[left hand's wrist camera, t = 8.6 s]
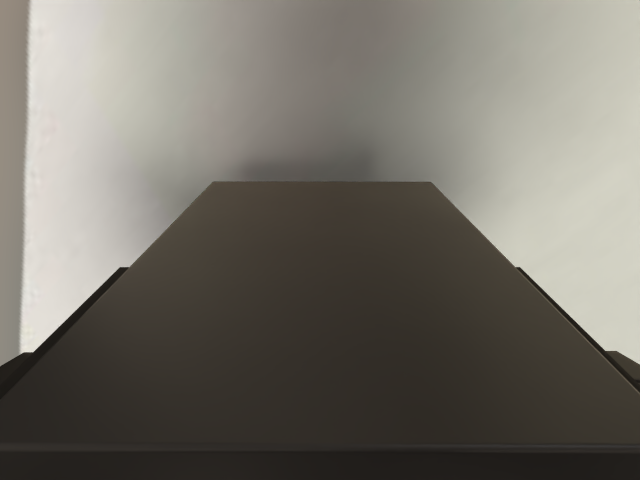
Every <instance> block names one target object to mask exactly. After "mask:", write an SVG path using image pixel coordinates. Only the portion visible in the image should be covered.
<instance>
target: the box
mask: <svg viewBox="0 0 640 480" xmlns="http://www.w3.org/2000/svg"><path fill="white" fill-rule="evenodd" d="M0 480H640V393H639V392H638V391H637V390H636V389H635V388H634V387H633V386H632V385H631V384H630V383H629V382H628V381H627V380H626V379H625V378H624V377H623V376H622V375H621V374H620V373H619V371H618V370H617V369H616V368H615V367H614V366H613V365H612V364H611V363H610V362H609V361H608V360H607V359H606V358H605V357H604V356H603V355H602V354H601V353H600V352H599V351H598V350H597V349H596V348H595V347H594V346H593V345H592V344H591V343H590V342H589V341H588V340H587V339H586V338H585V337H584V336H583V335H582V334H581V333H580V332H579V331H578V330H577V329H576V328H575V327H574V326H573V325H572V324H571V323H570V322H569V321H568V320H567V319H566V318H565V317H564V316H563V315H562V314H561V313H560V312H559V311H558V310H557V309H556V308H555V307H554V306H553V305H552V304H551V303H550V302H549V301H548V300H547V299H546V298H545V297H544V296H543V295H542V294H541V293H540V292H539V291H538V290H537V289H536V288H535V287H534V286H533V285H532V284H531V283H530V282H529V281H528V280H527V279H526V278H525V277H524V276H523V275H522V273H521V272H520V271H519V270H518V269H517V268H516V267H515V266H514V265H513V264H512V263H511V262H510V261H509V260H508V259H507V258H506V257H505V256H504V255H503V254H502V253H501V252H500V251H499V250H498V249H497V248H496V247H495V246H494V245H493V244H492V243H491V242H490V241H489V240H488V239H487V238H486V237H485V236H484V235H483V234H482V233H481V232H480V231H479V230H478V229H477V228H476V227H475V226H474V225H473V224H472V223H471V222H470V221H469V220H468V219H467V218H466V217H465V216H464V215H463V214H462V213H461V212H460V211H459V210H458V209H457V208H456V207H455V206H454V205H453V204H452V203H451V202H450V201H449V200H448V199H447V198H446V197H445V196H444V195H443V194H442V193H441V192H440V191H439V190H438V189H437V188H436V187H435V186H434V185H433V184H432V183H431V182H212V183H211V184H210V186H209V187H208V188H207V189H206V190H205V191H204V192H203V193H202V194H201V195H200V196H199V197H198V198H197V199H196V200H195V201H194V202H193V203H192V204H191V205H190V206H189V207H188V208H187V209H186V210H185V211H184V212H183V213H182V214H181V215H180V216H179V217H178V218H177V219H176V220H175V221H174V222H173V223H172V224H171V225H170V226H169V227H168V229H167V230H166V231H165V232H164V233H163V234H162V235H161V236H160V237H159V238H158V239H157V240H156V241H155V242H154V243H153V244H152V245H151V246H150V247H149V248H148V249H147V250H146V251H145V252H144V253H143V254H142V255H141V256H140V257H139V258H138V259H137V260H136V261H135V262H134V263H133V264H132V265H131V266H130V267H129V268H128V269H127V270H126V272H125V273H124V274H123V275H122V276H121V277H120V278H119V279H118V280H117V281H116V282H115V283H114V284H113V285H112V286H111V287H110V288H109V289H108V290H107V291H106V292H105V293H104V294H103V295H102V296H101V297H100V298H99V299H98V300H97V301H96V302H95V303H94V304H93V305H92V306H91V307H90V308H89V309H88V310H87V311H86V312H85V313H84V314H83V316H82V317H81V318H80V319H79V320H78V321H77V322H76V323H75V324H74V325H73V326H72V327H71V328H70V329H69V330H68V331H67V332H66V333H65V334H64V335H63V336H62V337H61V338H60V339H59V340H58V341H57V342H56V343H55V344H54V345H53V346H52V347H51V348H50V349H49V350H48V351H47V352H46V353H45V354H44V355H43V356H42V357H41V359H40V360H39V361H38V362H37V363H36V364H35V365H34V366H33V367H32V368H31V369H30V370H29V371H28V372H27V373H26V374H25V375H24V376H23V377H22V378H21V379H20V380H19V381H18V382H17V383H16V384H15V385H14V386H13V387H12V388H11V389H10V390H9V391H8V392H7V393H6V394H5V395H4V396H3V397H2V398H1V399H0Z"/></svg>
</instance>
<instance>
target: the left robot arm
mask: <svg viewBox="0 0 640 480" xmlns="http://www.w3.org/2000/svg"><path fill="white" fill-rule="evenodd" d="M128 268H129V267H120V268H119V269H118V270H117V271H116V272H115V273H114V274H113V275H112V276H111V277H110V278H109V279H108V280H107V281H106V282H105V283H104V284H103V285H102V286H100V287H99V288H98V289H97V290H96V291H95V292H94V293H93V294H92V295H91V296H90V297H89V298H88V299H87V300H86V301H85V302H84V303H83V304H82V305H81V306H80V307H79V308H78V309H77V310H76V311H75V312H74V313H73V314H72V315H71V316H70V317H69V318H68V319H67V320H66V321H65V322H64V323H63V324H62V325H61V326H60V327H59V328H58V329H57V330H56V331H55V332H54V333H53V334H52V335H51V336H49V337H48V338H47V339H46V340H45V341H44V342H43V343H42V344H41V345H40V346H39V347H38V348H37V349H36V350H35V351H34V352H24V353H22V354H21V355H19V356H17V357H15V358H14V359H12V360H10V361H9V362H7V363H5V364H4V365H2V366H0V399H1V398H2V397H3V396H4V395H5V394H6V393H7V392H8V391H9V390H10V389H11V388H12V387H13V386H14V385H15V384H16V383H17V382H18V381H19V380H20V379H21V378H22V377H23V376H24V375H25V374H26V373H27V372H28V371H29V370H30V369H31V368H32V367H33V366H34V365H35V364H36V363H37V362H38V361H39V360H40V359H41V357H42V356H43V355H44V354H45V353H46V352H47V351H48V350H49V349H50V348H51V347H52V346H53V345H54V344H55V343H56V342H57V341H58V340H59V339H60V338H61V337H62V336H63V335H64V334H65V333H66V332H67V331H68V330H69V329H70V328H71V327H72V326H73V325H74V324H75V323H76V322H77V321H78V320H79V319H80V318H81V317H82V316H83V314H84V313H85V312H86V311H87V310H88V309H89V308H90V307H91V306H92V305H93V304H94V303H95V302H96V301H97V300H98V299H99V298H100V297H101V296H102V295H103V294H104V293H105V292H106V291H107V290H108V289H109V288H110V287H111V286H112V285H113V284H114V283H115V282H116V281H117V280H118V279H119V278H120V277H121V276H122V275H123V274H124V273H125V272H126V270H127V269H128ZM516 268H517V269H518V270H519V271H520V272H521V273H522V275H523V276H524V277H525V278H526V279H527V280H528V281H529V282H530V283H531V284H532V285H533V286H534V287H535V288H536V289H537V290H538V291H539V292H540V293H541V294H542V295H543V296H544V297H545V298H546V299H547V300H548V301H549V302H550V303H551V304H552V305H553V306H554V307H555V308H556V309H557V310H558V311H559V312H560V313H561V314H562V315H563V316H564V317H565V318H566V319H567V320H568V321H569V322H570V323H571V324H572V325H573V326H574V327H575V328H576V329H577V330H578V331H579V332H580V333H581V334H582V335H583V336H584V337H585V338H586V339H587V340H588V341H589V342H590V343H591V344H592V345H593V346H594V347H595V348H596V349H597V350H598V351H599V352H600V353H601V354H602V355H603V356H604V357H605V358H606V359H607V360H608V361H609V362H610V363H611V364H612V365H613V366H614V367H615V368H616V369H617V370H618V371H619V373H620V374H621V375H622V376H623V377H624V378H625V379H626V380H627V381H628V382H629V383H630V384H631V385H632V386H633V387H634V388H635V389H636V390H637V391H638V392H639V393H640V365H639V364H638V363H636V362H634V361H633V360H631V359H629V358H627V357H626V356H624V355H622V354H621V353H619V352H617V351H605V350H604V349H603V348H602V347H601V346H600V345H599V344H598V343H597V342H596V341H595V340H594V339H593V338H592V337H591V336H589V335H588V334H587V333H586V332H585V331H584V330H583V329H582V328H581V327H580V326H579V325H578V324H577V323H576V322H575V321H574V320H573V319H572V318H571V317H570V316H569V315H568V314H567V313H566V312H565V311H564V310H563V309H562V308H561V307H560V306H559V305H558V304H557V303H556V302H555V301H554V300H553V299H552V298H551V297H550V296H549V295H548V294H547V293H546V292H545V291H544V290H543V289H542V288H541V287H539V286H538V285H537V284H536V283H535V282H534V281H533V280H532V279H531V278H530V277H529V276H528V275H527V274H526V273H525V272H524V271H523V270H522V269H521V268H520V267H516Z"/></svg>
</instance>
